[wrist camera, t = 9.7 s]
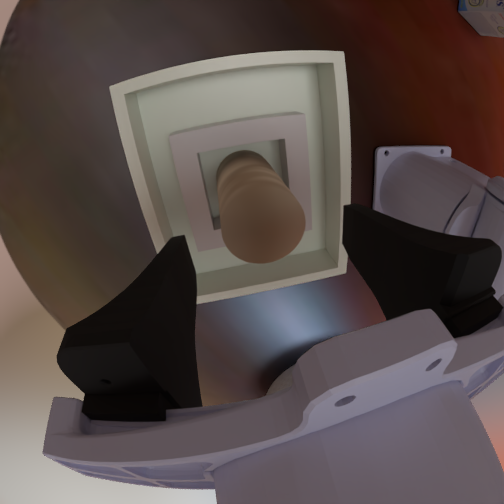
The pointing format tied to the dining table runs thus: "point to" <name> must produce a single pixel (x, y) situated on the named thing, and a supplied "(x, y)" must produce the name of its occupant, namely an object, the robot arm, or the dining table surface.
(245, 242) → the birch peg
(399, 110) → the dining table surface
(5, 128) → the dining table surface
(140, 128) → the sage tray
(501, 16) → the medicine box
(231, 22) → the dining table surface
